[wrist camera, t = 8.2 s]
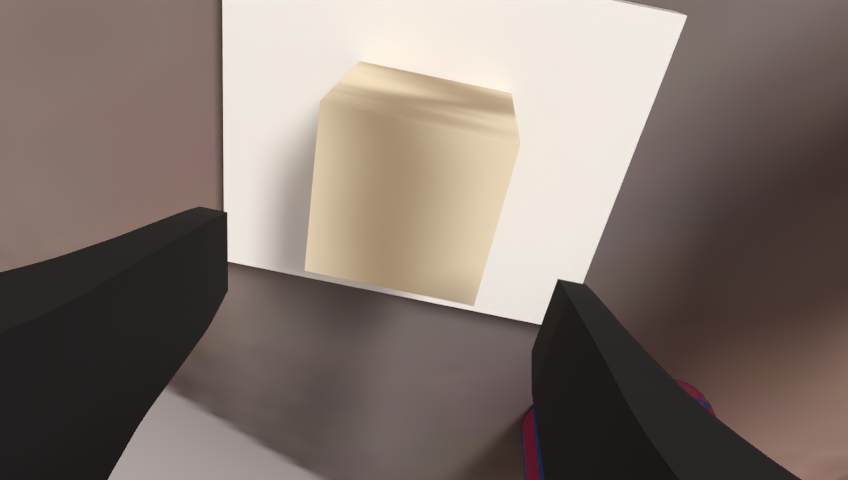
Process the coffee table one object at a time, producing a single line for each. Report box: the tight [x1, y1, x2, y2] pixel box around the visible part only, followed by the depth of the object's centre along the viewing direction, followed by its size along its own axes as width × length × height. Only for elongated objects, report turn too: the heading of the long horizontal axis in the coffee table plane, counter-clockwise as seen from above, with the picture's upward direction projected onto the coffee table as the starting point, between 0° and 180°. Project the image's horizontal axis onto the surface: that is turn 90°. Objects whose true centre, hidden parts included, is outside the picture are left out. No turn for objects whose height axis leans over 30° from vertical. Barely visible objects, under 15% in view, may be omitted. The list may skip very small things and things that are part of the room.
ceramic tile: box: [222, 0, 687, 325], centre depth 20 cm, size 14×12×1 cm
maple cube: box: [305, 61, 520, 306], centre depth 17 cm, size 5×5×5 cm
